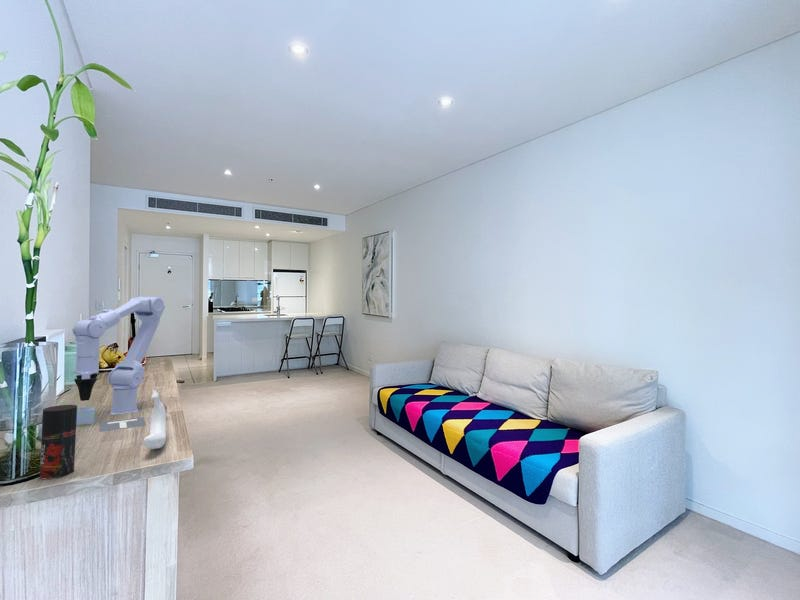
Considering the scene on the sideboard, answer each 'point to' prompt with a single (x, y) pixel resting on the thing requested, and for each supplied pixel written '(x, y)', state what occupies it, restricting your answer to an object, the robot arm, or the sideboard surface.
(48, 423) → the deodorant
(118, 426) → the letter card
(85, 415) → the blue cube
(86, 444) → the sideboard surface
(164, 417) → the white curved piece
